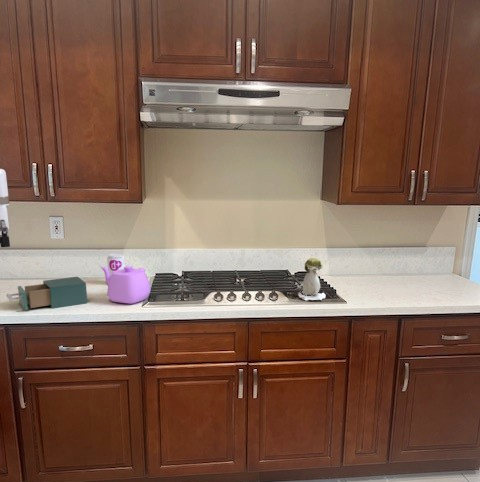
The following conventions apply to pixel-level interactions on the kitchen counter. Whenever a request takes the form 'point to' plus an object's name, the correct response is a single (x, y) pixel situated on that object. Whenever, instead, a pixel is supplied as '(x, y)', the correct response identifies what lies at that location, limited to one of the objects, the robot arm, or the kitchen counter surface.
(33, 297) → the drawer
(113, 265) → the supplement can
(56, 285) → the cabinet
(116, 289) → the teapot
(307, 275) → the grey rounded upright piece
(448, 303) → the kitchen counter surface
